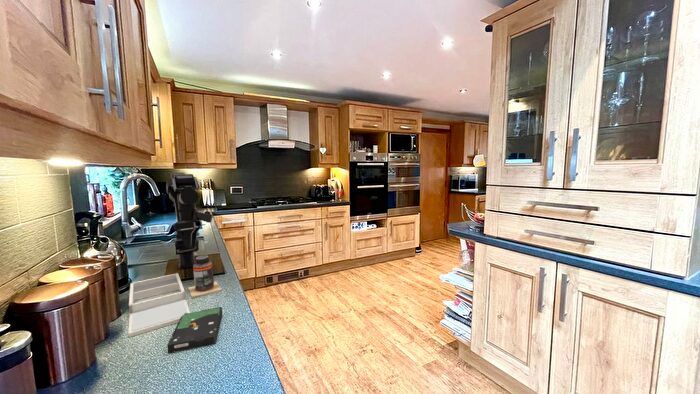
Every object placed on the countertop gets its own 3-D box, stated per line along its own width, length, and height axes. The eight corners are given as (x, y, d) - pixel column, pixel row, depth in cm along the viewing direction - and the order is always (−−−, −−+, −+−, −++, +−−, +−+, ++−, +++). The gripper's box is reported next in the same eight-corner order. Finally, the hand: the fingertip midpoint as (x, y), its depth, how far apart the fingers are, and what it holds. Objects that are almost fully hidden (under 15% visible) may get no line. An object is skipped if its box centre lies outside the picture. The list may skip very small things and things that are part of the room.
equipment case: (131, 292, 96) (130, 283, 95) (178, 282, 104) (177, 273, 104) (128, 337, 70) (127, 324, 70) (191, 318, 79) (190, 306, 78)
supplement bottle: (205, 283, 101) (202, 253, 99) (218, 285, 99) (215, 255, 97) (191, 290, 95) (188, 258, 94) (204, 292, 93) (201, 260, 92)
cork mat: (188, 289, 98) (188, 287, 98) (216, 282, 103) (215, 280, 103) (192, 298, 91) (192, 296, 90) (221, 290, 96) (221, 289, 96)
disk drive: (216, 346, 67) (222, 314, 81) (216, 335, 67) (222, 305, 81) (167, 356, 64) (182, 321, 78) (166, 345, 64) (181, 312, 77)
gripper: (206, 203, 100) (211, 245, 100) (213, 204, 118) (217, 241, 117) (171, 206, 96) (176, 251, 96) (183, 208, 114) (187, 245, 114)
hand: (191, 246), depth 106 cm, fingers open, 9 cm apart
